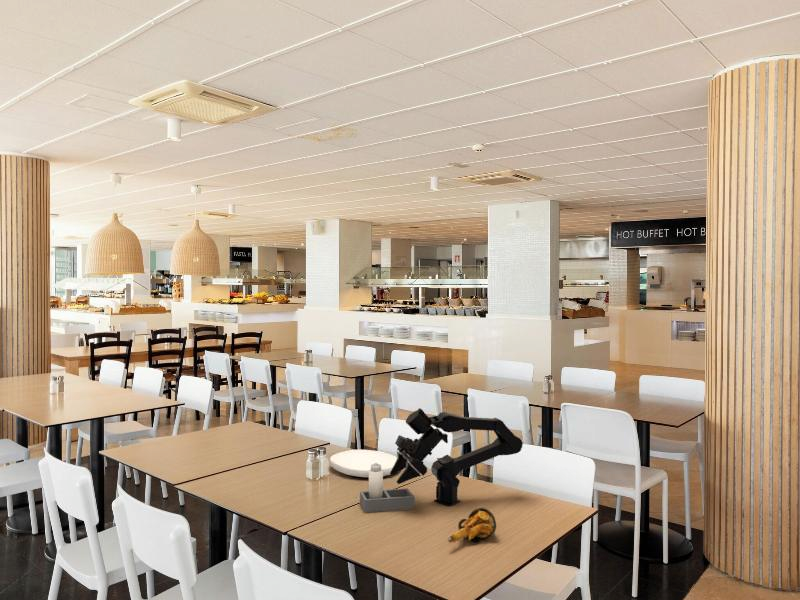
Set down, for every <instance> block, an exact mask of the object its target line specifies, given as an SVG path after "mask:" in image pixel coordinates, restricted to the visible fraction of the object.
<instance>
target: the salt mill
mask: <svg viewBox="0 0 800 600" xmlns="http://www.w3.org/2000/svg"><path fill="white" fill-rule="evenodd" d="M383 490H384V476H383V470H382V469H381V465H380V464H378V463H374V464H372V465H371V469H370V470H369V477H368V491H369V499H377V498H383Z"/></svg>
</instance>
